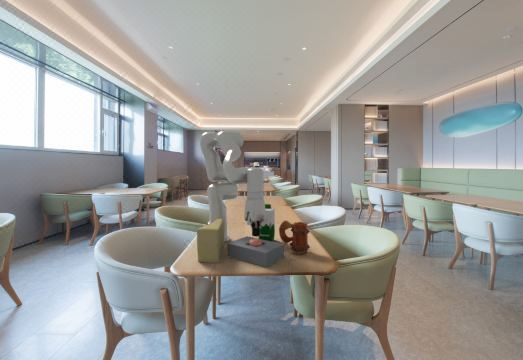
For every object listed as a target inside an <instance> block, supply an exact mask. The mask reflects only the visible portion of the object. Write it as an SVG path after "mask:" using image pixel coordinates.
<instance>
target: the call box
mask: <svg viewBox="0 0 523 360" xmlns="http://www.w3.org/2000/svg"><path fill="white" fill-rule="evenodd" d="M250 239H258V238H257V237H254V236H248V235H247V236H243V237H242V238H239V239H235V240H232V241H230V242H229V241H228V242H226V243H227V246H226V249H227V254H226V256H227V257H230V258H234V259H236V260H239V261H244V262H246V263H250V264H254V265H257V266H260V267H263V268H267V267H270V266H271V265H273V264H275V263H277V262H278V261H280V260H282V259H284V258H285V243H279V242H275V241H273V242H271V241H266V240H262V239H261V240H262V245H261V246H258V247H254V246H250V245H249V240H250Z"/></svg>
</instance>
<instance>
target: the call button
mask: <svg viewBox="0 0 523 360" xmlns="http://www.w3.org/2000/svg"><path fill="white" fill-rule="evenodd" d="M249 245H250V246H254V247H258V246H261V245H262V240H261V239H259V238H257V239H250V240H249Z"/></svg>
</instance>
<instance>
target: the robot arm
mask: <svg viewBox="0 0 523 360" xmlns="http://www.w3.org/2000/svg"><path fill="white" fill-rule="evenodd" d="M243 145H244V136H243V135H242V134H241V133H240V132H238V131H229V130H223V131H220V132H219V131H218V132H215V131H206V132H204V133H202V135H201V136H200V139H199V147H200V149H201V152H202V155H203V159H204V162H205V164H204V165H205V169H206V176H207V179H208V180H209V182H216V183H211V184H210V185H209V186H208V187H207V189H206V195H207V199H208V209H209V210H208V212H209V213H208V215H209V217H208V218H209V219H208V220H209V224H210V223H212V222H214V221H215V220H217V219H223V226H224V243H228V242H229V241H230V239H231V237H230V236H229V235H228V218H227V217H228V213H227V211H228V210H227V206H226V204H225V202H224V201H227V200H228V201H229V200H235V199H236V198H237V197H238V195H239V187H238V185H241V184H243V185H246V199H245V203H244V214H243V216H244V217H243V218H244V221H245V222H246V225H249V226H250V227H251V237H255V238H257V237H258V238H259V236H260V226H261V222H263V221H264V218H265V204H266V203H265V192H264V191H265V190H264V185H265V184H264V178H265V177H264V170H263V168H259V167H235V166H234V164H233V162H235V161H237V160H238V159H240V157H241V155H242V150H241V148H242V146H243ZM217 148H219V149H220V150H221V152H222V153H223V156H224V158H223V163H222V162H221V157H220V154H219V152H218V151H217V150H215V149H217ZM220 182H221V183H220Z"/></svg>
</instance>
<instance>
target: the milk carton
mask: <svg viewBox="0 0 523 360" xmlns="http://www.w3.org/2000/svg"><path fill="white" fill-rule="evenodd" d="M275 209H276V208H275V207H272V204H270V203H265V218H264V221H263V222H261V226H260V236H258V239H262V240H266V241H271V242H275V235H276V234H275V233H276V214H275V213H276V212H275V211H276V210H275Z"/></svg>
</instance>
